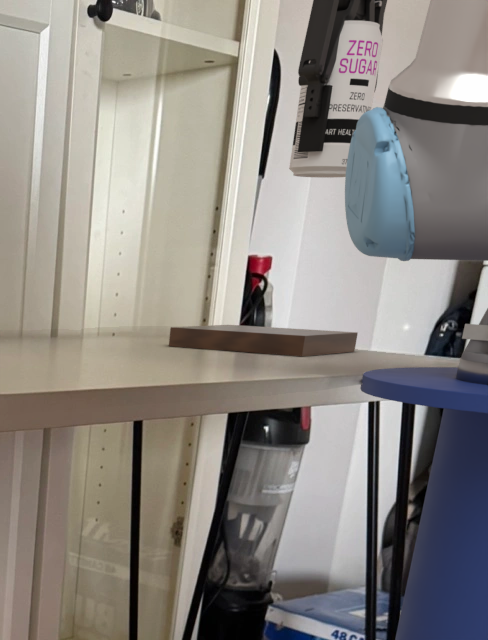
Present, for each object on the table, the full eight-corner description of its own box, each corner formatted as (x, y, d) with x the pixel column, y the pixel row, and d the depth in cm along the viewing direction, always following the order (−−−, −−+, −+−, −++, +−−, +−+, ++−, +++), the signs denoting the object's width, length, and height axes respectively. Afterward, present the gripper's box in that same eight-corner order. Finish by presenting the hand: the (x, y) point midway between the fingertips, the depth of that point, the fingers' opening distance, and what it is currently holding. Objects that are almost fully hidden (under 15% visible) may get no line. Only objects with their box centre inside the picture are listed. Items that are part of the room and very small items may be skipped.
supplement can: (307, 178, 128) (329, 36, 122) (371, 176, 123) (397, 27, 117) (275, 174, 123) (296, 25, 116) (341, 172, 118) (366, 16, 111)
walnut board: (354, 351, 142) (357, 332, 141) (301, 356, 132) (305, 335, 131) (226, 342, 155) (228, 324, 154) (168, 346, 144) (170, 327, 143)
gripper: (370, -56, 122) (335, 161, 131) (286, -98, 108) (254, 148, 117) (434, -67, 117) (393, 159, 126) (356, -113, 103) (317, 145, 113)
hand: (327, 154), depth 122 cm, fingers closed on supplement can, 8 cm apart
